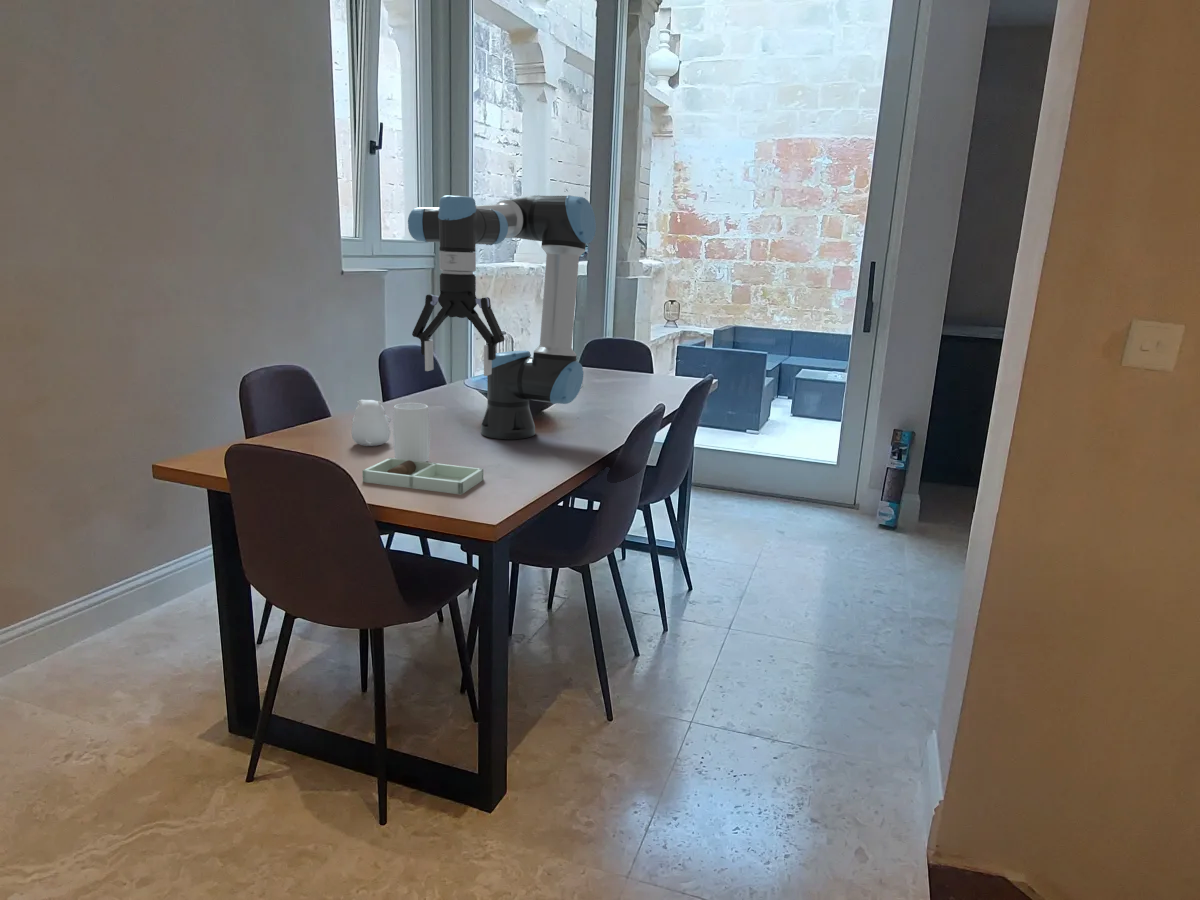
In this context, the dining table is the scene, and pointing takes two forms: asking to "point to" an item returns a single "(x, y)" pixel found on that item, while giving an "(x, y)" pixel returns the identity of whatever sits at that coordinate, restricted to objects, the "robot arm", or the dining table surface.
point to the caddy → (425, 476)
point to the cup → (411, 431)
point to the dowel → (404, 468)
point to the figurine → (370, 424)
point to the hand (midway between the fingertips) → (458, 372)
